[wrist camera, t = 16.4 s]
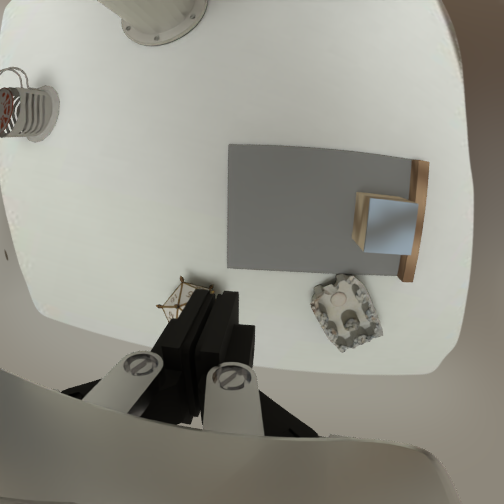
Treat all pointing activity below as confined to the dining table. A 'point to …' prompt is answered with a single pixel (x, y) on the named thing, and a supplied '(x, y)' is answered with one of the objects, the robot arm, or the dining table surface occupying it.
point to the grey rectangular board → (306, 208)
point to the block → (384, 223)
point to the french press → (28, 110)
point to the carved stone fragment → (346, 312)
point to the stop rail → (418, 196)
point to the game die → (180, 299)
